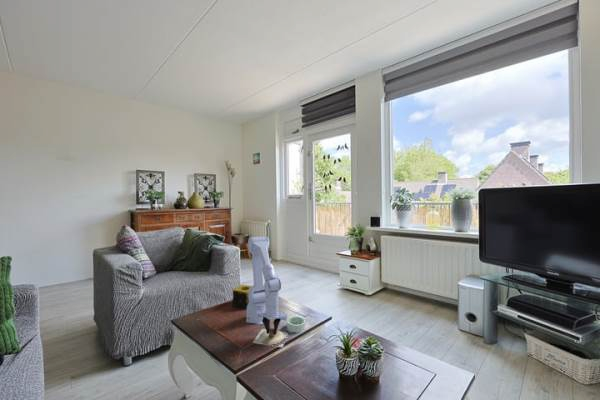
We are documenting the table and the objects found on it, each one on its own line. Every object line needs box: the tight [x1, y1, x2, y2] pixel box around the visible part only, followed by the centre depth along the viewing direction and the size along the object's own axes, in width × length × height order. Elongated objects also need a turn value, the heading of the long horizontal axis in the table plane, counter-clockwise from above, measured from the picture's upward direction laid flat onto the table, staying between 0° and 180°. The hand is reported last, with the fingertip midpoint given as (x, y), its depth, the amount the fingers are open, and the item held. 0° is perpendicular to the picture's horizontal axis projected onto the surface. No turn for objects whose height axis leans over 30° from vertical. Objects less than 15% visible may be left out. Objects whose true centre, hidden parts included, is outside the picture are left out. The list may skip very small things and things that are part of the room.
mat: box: [252, 328, 289, 348], centre depth 124 cm, size 14×12×1 cm
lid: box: [260, 327, 284, 346], centre depth 123 cm, size 11×11×4 cm
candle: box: [231, 284, 253, 310], centre depth 157 cm, size 10×10×10 cm
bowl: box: [286, 315, 306, 334], centre depth 132 cm, size 9×9×4 cm
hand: (271, 333), depth 123 cm, fingers open, 3 cm apart
